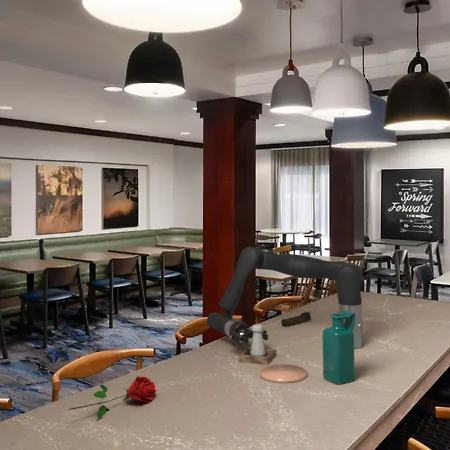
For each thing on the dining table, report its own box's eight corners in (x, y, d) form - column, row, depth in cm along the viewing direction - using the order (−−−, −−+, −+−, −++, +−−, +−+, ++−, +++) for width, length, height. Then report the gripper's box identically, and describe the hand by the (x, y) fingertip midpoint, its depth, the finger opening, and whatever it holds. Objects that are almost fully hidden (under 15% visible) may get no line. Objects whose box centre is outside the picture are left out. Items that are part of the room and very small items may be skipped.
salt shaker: (249, 356, 199) (248, 323, 198) (264, 356, 199) (263, 322, 199) (251, 361, 193) (250, 327, 192) (266, 360, 193) (266, 326, 193)
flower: (75, 387, 139) (160, 367, 162) (58, 396, 145) (142, 376, 167) (83, 421, 136) (168, 396, 159) (65, 429, 142) (150, 404, 164)
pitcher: (337, 385, 166) (336, 318, 165) (320, 377, 174) (319, 313, 173) (360, 380, 171) (359, 314, 170) (343, 372, 178) (342, 309, 177)
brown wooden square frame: (276, 355, 199) (276, 349, 199) (267, 364, 189) (267, 357, 189) (249, 353, 203) (249, 347, 203) (239, 361, 193) (239, 355, 193)
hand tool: (286, 328, 242) (286, 318, 242) (280, 326, 245) (280, 316, 245) (314, 321, 253) (314, 312, 253) (308, 320, 256) (308, 310, 256)
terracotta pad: (311, 369, 182) (311, 367, 182) (300, 385, 167) (300, 382, 167) (268, 365, 188) (268, 362, 188) (253, 379, 173) (253, 377, 173)
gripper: (221, 323, 207) (240, 332, 192) (251, 318, 213) (273, 326, 199) (221, 342, 207) (241, 352, 193) (252, 336, 214) (273, 346, 199)
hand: (257, 339), depth 196 cm, fingers open, 8 cm apart
